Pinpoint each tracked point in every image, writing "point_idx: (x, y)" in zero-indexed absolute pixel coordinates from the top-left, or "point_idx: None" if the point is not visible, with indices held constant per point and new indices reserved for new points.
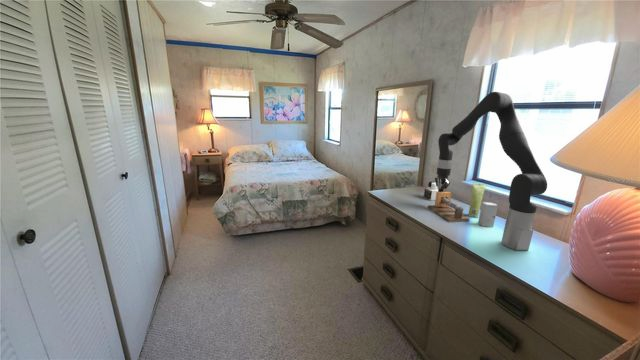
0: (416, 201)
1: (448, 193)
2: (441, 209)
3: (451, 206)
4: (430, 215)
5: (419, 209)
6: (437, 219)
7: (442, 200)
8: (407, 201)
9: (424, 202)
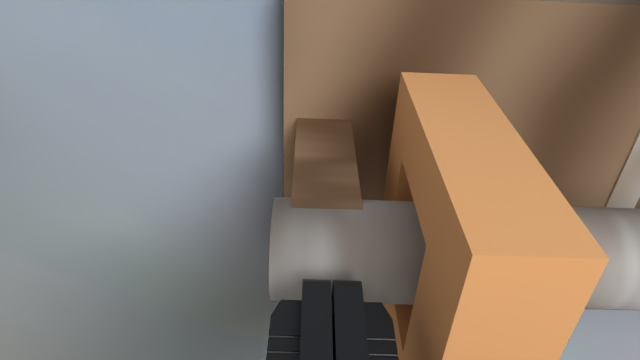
0: (41, 258)
1: (569, 315)
2: None
3: None
4: None
5: None
6: (622, 315)
7: None
8: (66, 340)
9: (65, 184)
